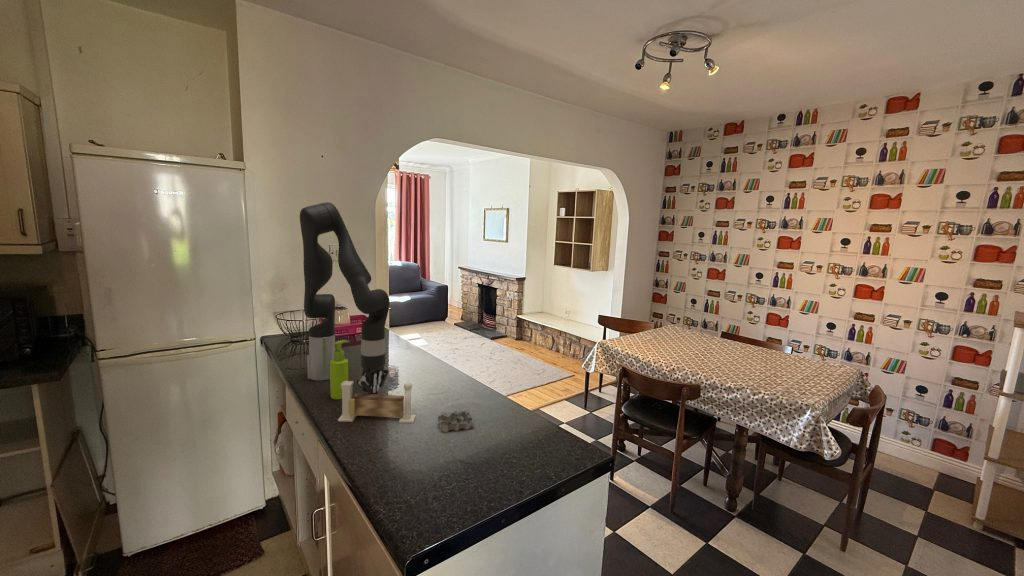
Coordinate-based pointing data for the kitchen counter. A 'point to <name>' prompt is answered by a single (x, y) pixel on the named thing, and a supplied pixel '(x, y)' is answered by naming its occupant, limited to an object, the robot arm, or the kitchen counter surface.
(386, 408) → the gate
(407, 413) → the hinge post
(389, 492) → the kitchen counter surface
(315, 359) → the robot arm
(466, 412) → the egg carton
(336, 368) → the soap dispenser
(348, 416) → the post
